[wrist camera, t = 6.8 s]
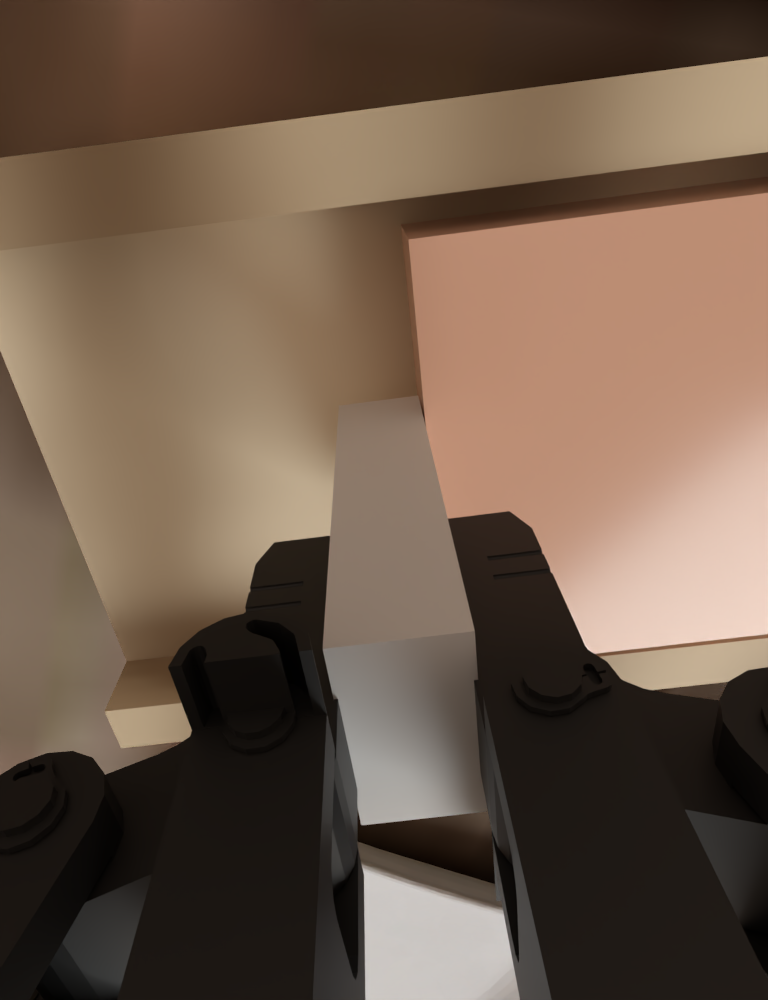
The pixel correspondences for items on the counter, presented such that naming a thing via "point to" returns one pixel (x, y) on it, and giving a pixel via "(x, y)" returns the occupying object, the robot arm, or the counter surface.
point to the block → (609, 398)
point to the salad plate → (432, 933)
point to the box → (290, 322)
